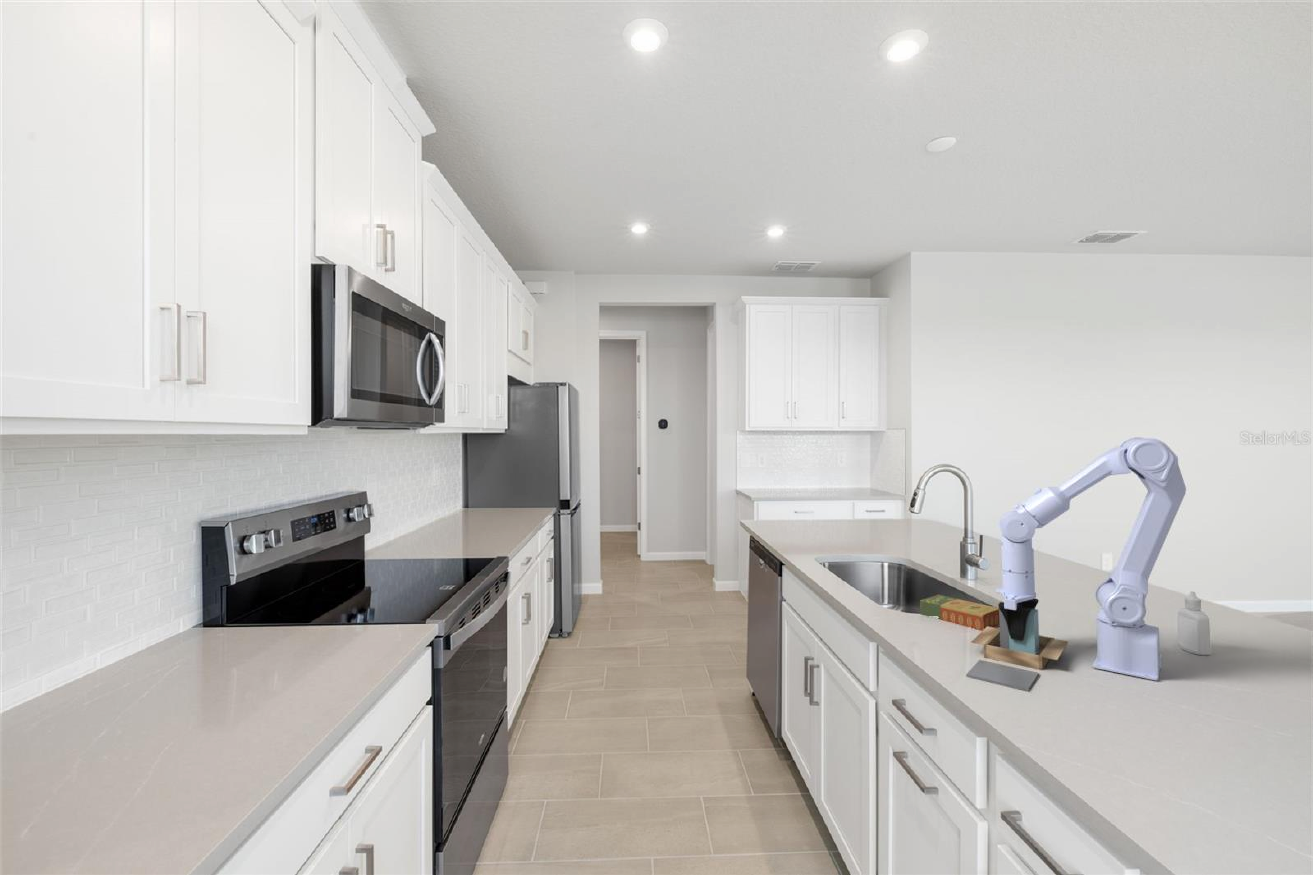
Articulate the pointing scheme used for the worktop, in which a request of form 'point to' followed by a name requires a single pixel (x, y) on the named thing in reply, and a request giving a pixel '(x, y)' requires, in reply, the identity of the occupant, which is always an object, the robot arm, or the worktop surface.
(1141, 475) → the robot arm
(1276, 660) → the worktop surface
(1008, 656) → the open carton
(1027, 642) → the capped box
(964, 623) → the carton
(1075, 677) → the worktop surface
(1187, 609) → the eye dropper bottle
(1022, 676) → the slate coaster
